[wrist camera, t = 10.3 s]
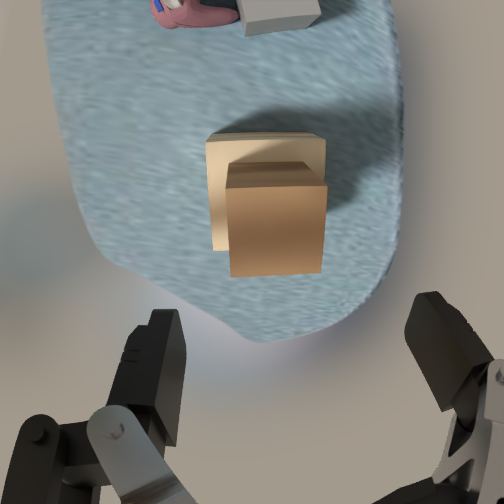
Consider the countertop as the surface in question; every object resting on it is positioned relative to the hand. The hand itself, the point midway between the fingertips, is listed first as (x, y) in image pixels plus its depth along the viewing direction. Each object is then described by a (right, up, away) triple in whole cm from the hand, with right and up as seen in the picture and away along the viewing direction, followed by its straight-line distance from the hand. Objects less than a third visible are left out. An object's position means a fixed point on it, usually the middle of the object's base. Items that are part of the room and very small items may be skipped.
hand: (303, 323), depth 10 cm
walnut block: (-1, +6, +11) cm, 13 cm away
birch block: (-1, +8, +16) cm, 18 cm away
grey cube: (0, +22, +9) cm, 24 cm away
